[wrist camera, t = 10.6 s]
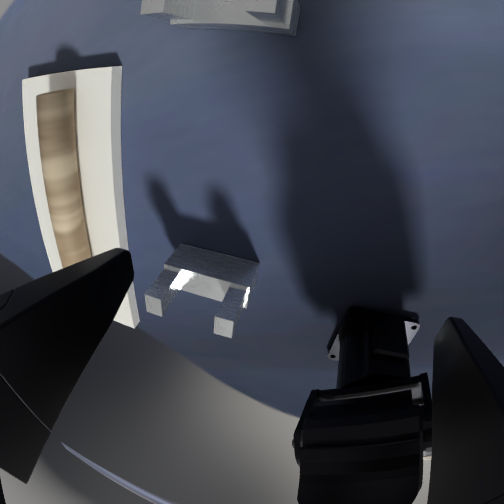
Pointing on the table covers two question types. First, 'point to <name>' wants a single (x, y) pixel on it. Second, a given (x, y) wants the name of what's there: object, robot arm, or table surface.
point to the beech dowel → (62, 174)
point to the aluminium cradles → (190, 257)
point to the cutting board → (86, 163)
